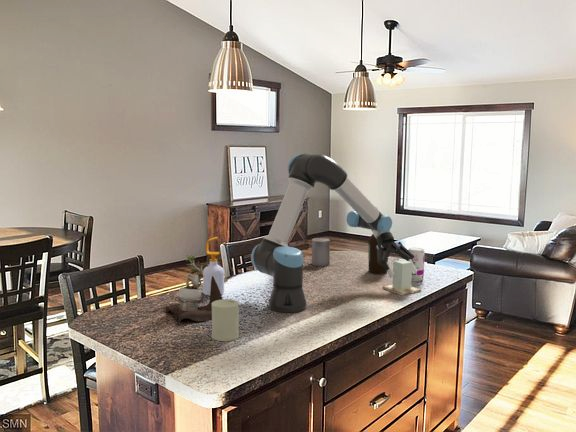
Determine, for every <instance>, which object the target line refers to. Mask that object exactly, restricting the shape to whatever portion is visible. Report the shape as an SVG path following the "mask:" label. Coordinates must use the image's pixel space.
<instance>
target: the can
mask: <svg viewBox="0 0 576 432" xmlns="http://www.w3.org/2000/svg"><path fill="white" fill-rule="evenodd" d="M239 303H240V302H239V301H237V300H235V299H231V298H230V299H229V298H227V299H226V298H222V300H216V301H214V302H212V318H211V338H212V339H213V340H215V341H218V342H231V341H235V340H237V339H238V338H239V336H240V334H239V331H240V330H239V329H240V328H239V320H240V319H239V315H240V314H239V310H240V309H239V307H240V304H239Z"/></svg>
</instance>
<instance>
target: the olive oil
mask: <svg viewBox="0 0 576 432" xmlns="http://www.w3.org/2000/svg"><path fill="white" fill-rule="evenodd" d="M377 245H378V242H377V239H376V238H375V236H374V234H373V233H372V235H370V237H369V238H368V243H367V248H368V251H367V252H368V253H367V255H368V258H367V259H368V271H367V272H369V273H371V274H374V275H375V274H376V275H377V274H378V275H384V274H388V272H387V271H386V270H385V268H384V266H381V265H380V264H378V262H377V250H376V246H377ZM383 253H384V250H383V249H382V258H383ZM388 260H389V256H388V257H387V261H386V262H389V261H388Z"/></svg>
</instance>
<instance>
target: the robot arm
mask: <svg viewBox="0 0 576 432" xmlns="http://www.w3.org/2000/svg"><path fill="white" fill-rule="evenodd" d="M287 171H288V172H287V173H288V178H287V181H288V183H289V184H288V186H287V189H286V191H285V193H284V196H283V199H282V201H281V204H280V206H279V208H278V210H277V213H276V215H275V218H274V221H273V222H272V225H271V227H270V230H269V233H268V235H266V236H264V237H263V238H262V241H261V242H260V243H259V244H257V245H255V246H254V247H253V249H252V251H251V254H250V261H251V264H252V266H253V268H255V270H256V271H258V272H260V273H262V274H265V275H268V276H270V277H272V278H273V279H272V282H273V283H272V290H271V293H270V297H269V299H268V308H269V309H270V310H272V311H274V312H279V313H297V312H302V311H305V310H306V309H307V300H306V298H305V291H304V289H303V278H304V277H303V275H304V254H303V251H301V250H300V249H298V248H296V247H294V246H293V247H292V246H291V247H290V246H289V245H288V243H289V239H290V237H291V234H292V232H293V230H294V227H295V225H296V223H297V220H298V218H299V215H300V212H301V210H302V208H303V205H304V202H305V200H306V197H307V196H308V193H309V191H312V190H314V187H315V185H316V183H320V184H322V185H324V186H326V187H327V188H328V189H329V190H330V191H335V193H337V195H339V197H340V198H341V199H343V200H344V201H345V202H346V204H347V205H348V206H350V207H351V208H352V209H353V210H350V211H349V212H348V213H347V215H346V224H347V225H348V226H349V227H351V228H361V229H367V230H370V231H371V232H372V234H374V236H375V238H376V239H377V242H378V245H377V246H376V250H377V262H378V264H380V265H381V266H384V268H385V270H386V271H387V274H388V276H389V278H393V275H394V272H393V268H392V267H391V265H390V262H389V261H388V262H386V261H387V257H388V258H389V254H395V255H398V256H399V257H401V258H402V259H403V260H406V261H409V262H412V273H413V274H415V273H416V272H417V269H416V267H415V264H414V262H413V260H412V259H413V258H414V255H413V254H411V253H410V252H409V251H408V250H409V249H407V248H406V247H405V246H404V245H403V244H402V242H401V241H398V243H397V242H396V241H395V238H394V236H393V234H392V232H391V229H392V227H393V219H392V218H391V216H390V215H387V214H383V213H381V212H380V210H379V208H378V207H377V206H376V205H374V204H373V203H372V202H371V201H370V200H369V199H368V198H367V196H365V195H364V193H363V192H362V191H361V190H360V189H359V188H358V187H357V185H355V184H354V183H353V182H352V181H351V180H350V179H349V178H348V173H347V171H345V170H344V169H343V167H342V166H341V165H339V164H338V162H336V161H335V160H333V159H332V158H331V157H329V156H328V155H325V154H319V153H318V154H317V153H316V154H315V153H306V152H305V153H299V154H296V155H294V156H292V158H291V159H290V160H289V162H288V164H287ZM382 249H383V250H384V253H383V258H382ZM408 258H409V259H408Z"/></svg>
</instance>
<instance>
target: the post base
mask: <svg viewBox="0 0 576 432" xmlns="http://www.w3.org/2000/svg"><path fill="white" fill-rule="evenodd" d="M392 286H393V284H389V285H383V286H382V289H384V290H386V291H388V292H391V293H393V292H394V294H396V293H397V294H396V295H400V296H404V294H405V295H410V294H409V293H411V294H415V293H414V292H416V293H421V292H422V289H421V288H417V287H416V286H412V285H411V289H406V290H399V289H396V288H394V287H392ZM420 291H421V292H420Z"/></svg>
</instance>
